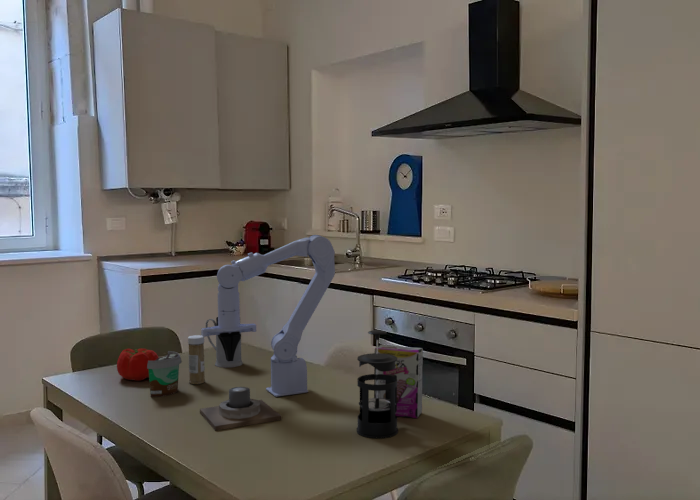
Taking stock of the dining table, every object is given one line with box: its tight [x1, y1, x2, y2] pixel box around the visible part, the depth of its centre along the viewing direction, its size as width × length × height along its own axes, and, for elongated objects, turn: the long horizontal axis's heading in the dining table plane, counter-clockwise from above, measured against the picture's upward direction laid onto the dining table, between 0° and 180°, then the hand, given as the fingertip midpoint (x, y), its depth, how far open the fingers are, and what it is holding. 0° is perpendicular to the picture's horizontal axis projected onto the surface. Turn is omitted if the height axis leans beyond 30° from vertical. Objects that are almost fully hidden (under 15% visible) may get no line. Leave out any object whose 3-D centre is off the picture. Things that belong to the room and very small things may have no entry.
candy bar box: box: [373, 344, 424, 419], centre depth 160 cm, size 11×5×16 cm, turn 71°
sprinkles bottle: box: [187, 334, 206, 385], centre depth 188 cm, size 5×5×14 cm
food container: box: [147, 350, 183, 398], centre depth 179 cm, size 12×6×10 cm, turn 168°
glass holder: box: [205, 316, 244, 368], centre depth 211 cm, size 9×14×15 cm, turn 57°
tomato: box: [116, 347, 160, 382], centre depth 194 cm, size 13×12×8 cm
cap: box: [228, 386, 251, 408], centre depth 159 cm, size 5×5×6 cm
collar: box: [199, 398, 282, 431], centre depth 159 cm, size 16×14×3 cm
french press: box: [356, 329, 399, 439], centre depth 148 cm, size 12×9×23 cm
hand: (229, 360), depth 176 cm, fingers closed
